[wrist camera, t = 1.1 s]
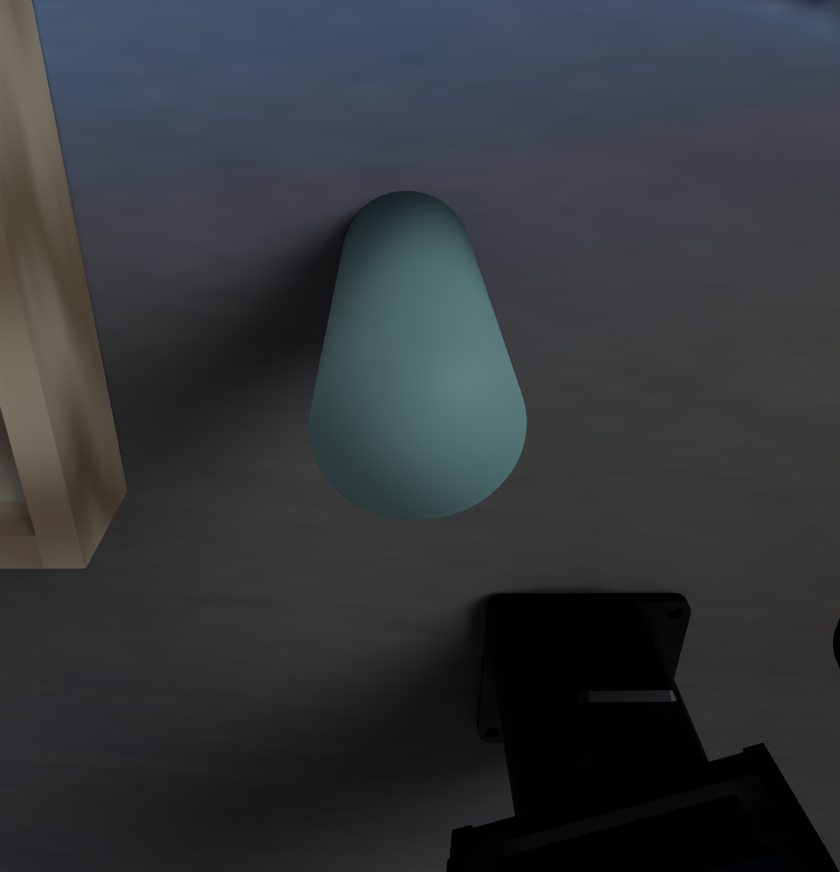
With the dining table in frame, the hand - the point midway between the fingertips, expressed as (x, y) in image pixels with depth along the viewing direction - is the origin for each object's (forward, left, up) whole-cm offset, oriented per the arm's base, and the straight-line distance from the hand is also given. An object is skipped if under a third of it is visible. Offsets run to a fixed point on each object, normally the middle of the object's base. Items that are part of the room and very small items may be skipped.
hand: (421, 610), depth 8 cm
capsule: (0, 0, -13) cm, 13 cm away
